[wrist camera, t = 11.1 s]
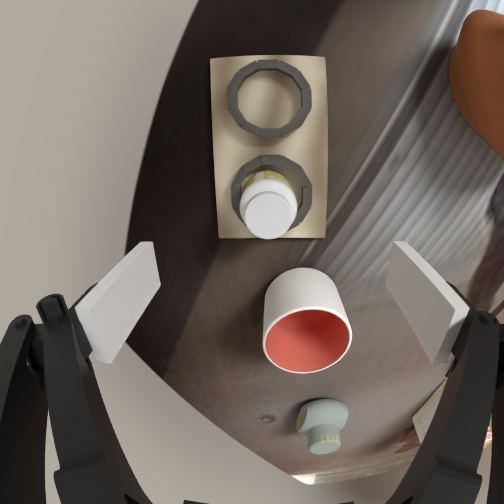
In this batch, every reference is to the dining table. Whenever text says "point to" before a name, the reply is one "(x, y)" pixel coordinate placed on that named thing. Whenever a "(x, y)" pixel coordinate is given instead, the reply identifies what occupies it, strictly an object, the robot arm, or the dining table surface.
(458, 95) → the potted plant
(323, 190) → the caddy
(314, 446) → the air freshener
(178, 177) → the dining table surface
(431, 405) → the coffeecake box
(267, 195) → the supplement bottle
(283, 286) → the cup
